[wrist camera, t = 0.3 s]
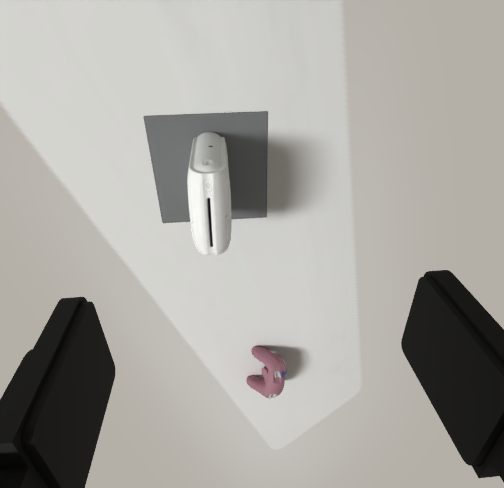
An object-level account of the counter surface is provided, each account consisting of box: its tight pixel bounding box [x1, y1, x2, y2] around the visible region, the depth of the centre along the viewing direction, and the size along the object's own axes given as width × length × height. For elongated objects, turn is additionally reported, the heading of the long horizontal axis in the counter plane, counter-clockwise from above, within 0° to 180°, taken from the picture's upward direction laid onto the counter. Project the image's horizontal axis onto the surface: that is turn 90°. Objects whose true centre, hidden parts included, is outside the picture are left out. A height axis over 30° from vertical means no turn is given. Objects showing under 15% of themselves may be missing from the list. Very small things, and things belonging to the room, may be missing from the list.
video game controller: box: [247, 346, 286, 399], centre depth 65 cm, size 10×5×7 cm, turn 173°
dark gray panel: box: [144, 111, 267, 223], centre depth 45 cm, size 14×14×1 cm
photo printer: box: [187, 132, 231, 255], centre depth 40 cm, size 10×4×12 cm, turn 179°
